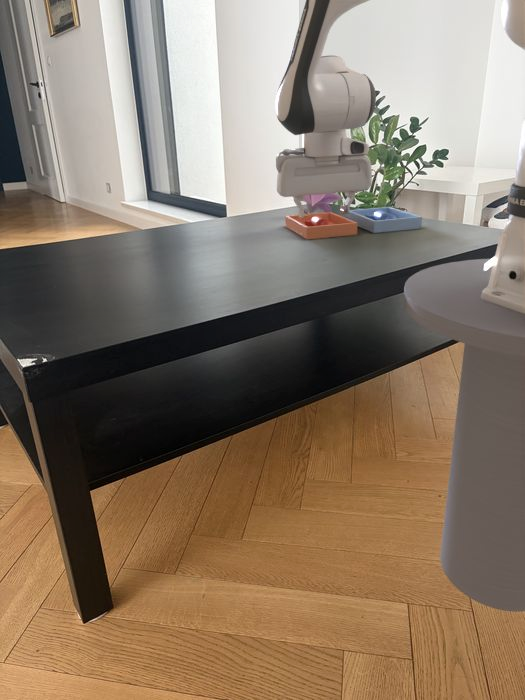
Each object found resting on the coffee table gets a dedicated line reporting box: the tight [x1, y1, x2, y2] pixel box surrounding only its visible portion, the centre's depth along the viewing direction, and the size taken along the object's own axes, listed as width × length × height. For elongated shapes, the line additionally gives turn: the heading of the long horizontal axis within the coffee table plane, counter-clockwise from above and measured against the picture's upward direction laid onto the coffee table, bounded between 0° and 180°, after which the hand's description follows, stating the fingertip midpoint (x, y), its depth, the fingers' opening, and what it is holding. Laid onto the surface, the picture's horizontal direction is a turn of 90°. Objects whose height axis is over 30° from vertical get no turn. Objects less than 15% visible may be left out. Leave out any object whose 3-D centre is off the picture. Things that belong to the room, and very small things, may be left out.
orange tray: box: [284, 211, 358, 241], centre depth 121 cm, size 15×11×2 cm
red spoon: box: [305, 216, 332, 227], centre depth 121 cm, size 11×4×2 cm, turn 15°
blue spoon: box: [366, 211, 396, 221], centre depth 124 cm, size 11×4×2 cm, turn 15°
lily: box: [292, 193, 344, 214], centre depth 135 cm, size 12×12×10 cm
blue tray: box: [345, 206, 423, 234], centre depth 124 cm, size 15×11×2 cm
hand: (324, 215), depth 118 cm, fingers open, 8 cm apart
